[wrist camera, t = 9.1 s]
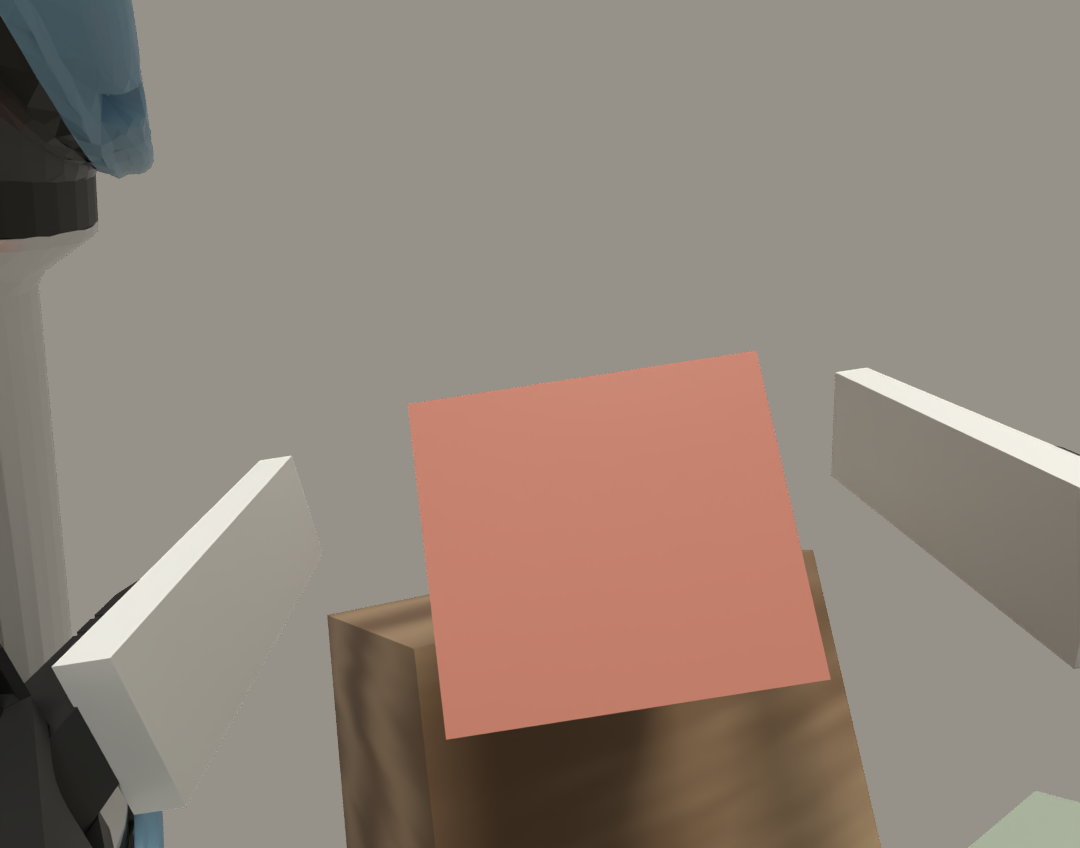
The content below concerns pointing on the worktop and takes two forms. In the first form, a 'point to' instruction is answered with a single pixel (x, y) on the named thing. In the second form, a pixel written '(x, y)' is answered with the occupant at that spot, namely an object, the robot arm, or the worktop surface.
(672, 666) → the salmon pink bar
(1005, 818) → the sage step
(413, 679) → the walnut block
